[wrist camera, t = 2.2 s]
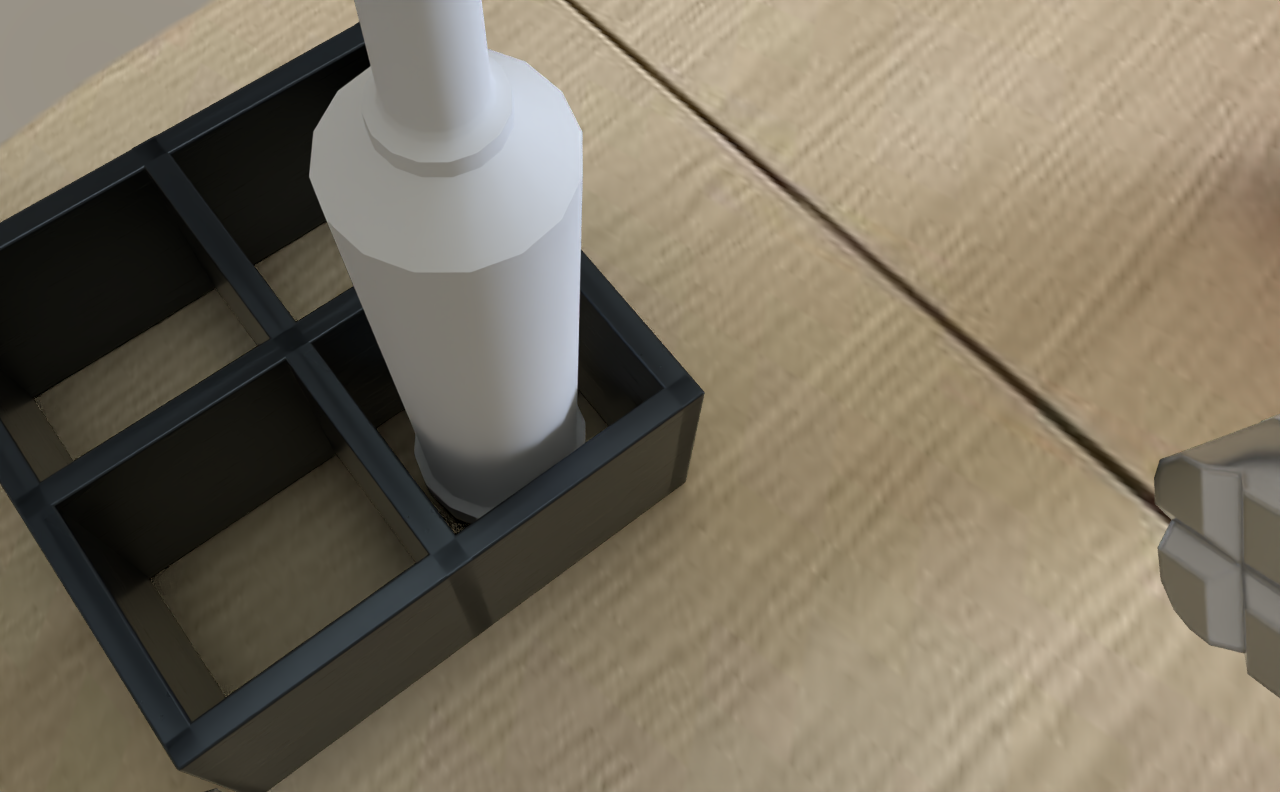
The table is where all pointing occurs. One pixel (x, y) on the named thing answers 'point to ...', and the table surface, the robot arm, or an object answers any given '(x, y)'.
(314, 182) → the bottle
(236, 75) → the table surface
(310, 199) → the rack
